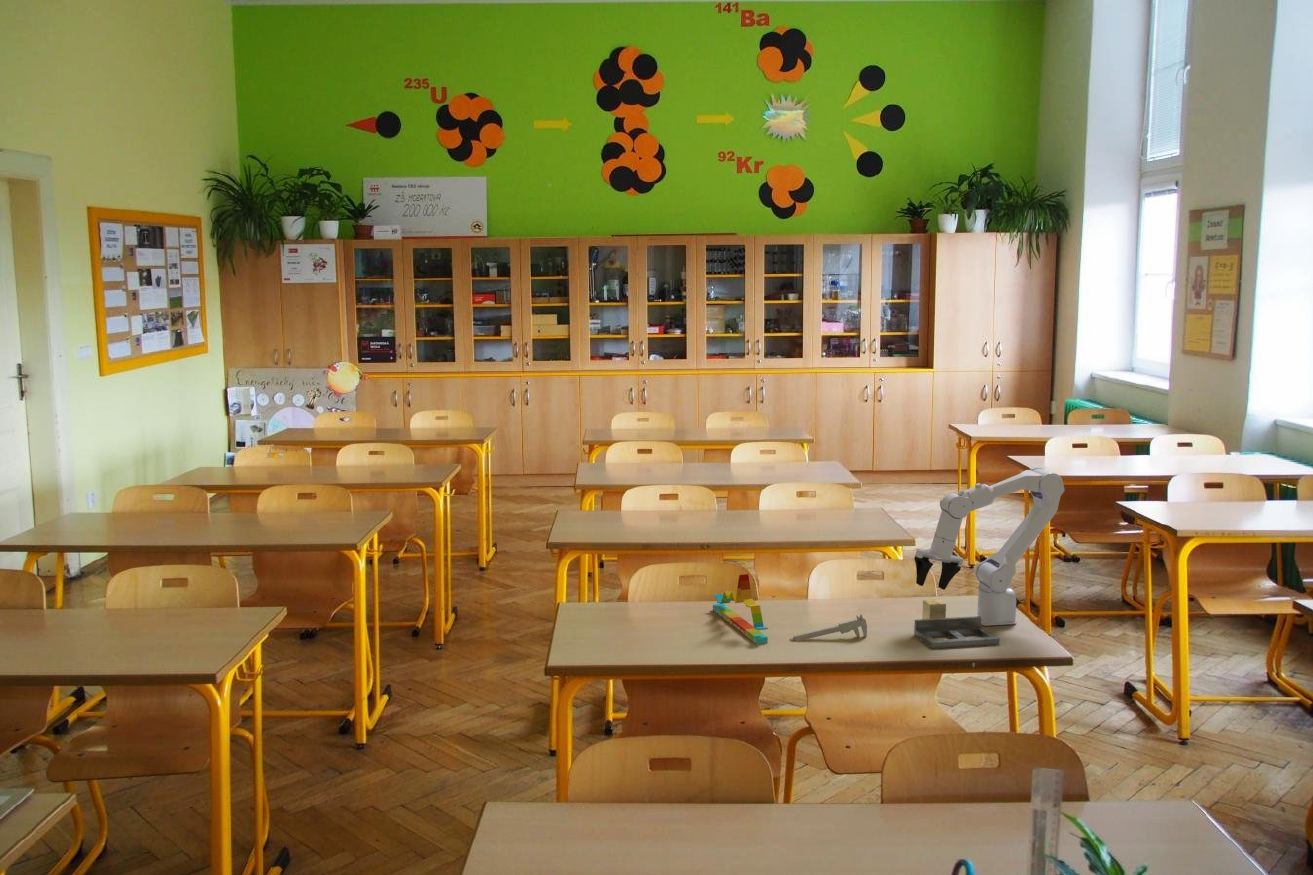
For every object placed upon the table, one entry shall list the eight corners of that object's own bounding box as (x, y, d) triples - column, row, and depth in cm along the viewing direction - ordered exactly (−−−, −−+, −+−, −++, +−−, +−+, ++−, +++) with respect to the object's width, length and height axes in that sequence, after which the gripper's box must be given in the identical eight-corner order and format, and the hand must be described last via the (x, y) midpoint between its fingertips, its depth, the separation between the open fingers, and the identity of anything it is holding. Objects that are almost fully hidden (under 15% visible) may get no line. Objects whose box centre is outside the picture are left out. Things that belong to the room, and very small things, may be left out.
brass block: (937, 620, 297) (938, 598, 296) (945, 625, 292) (946, 603, 291) (922, 621, 296) (923, 599, 295) (929, 626, 292) (930, 604, 291)
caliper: (867, 635, 284) (863, 613, 283) (868, 636, 283) (865, 614, 282) (791, 654, 281) (787, 632, 280) (792, 655, 280) (788, 633, 279)
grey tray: (978, 630, 288) (979, 616, 287) (999, 644, 277) (999, 629, 277) (914, 634, 285) (914, 619, 284) (932, 648, 274) (932, 633, 273)
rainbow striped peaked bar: (711, 611, 306) (712, 558, 303) (722, 610, 307) (723, 557, 304) (755, 645, 277) (756, 587, 275) (767, 644, 278) (768, 586, 276)
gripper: (956, 537, 298) (942, 585, 299) (914, 529, 291) (900, 578, 293) (973, 545, 291) (958, 593, 293) (931, 537, 285) (916, 586, 286)
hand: (930, 586), depth 292 cm, fingers open, 7 cm apart
